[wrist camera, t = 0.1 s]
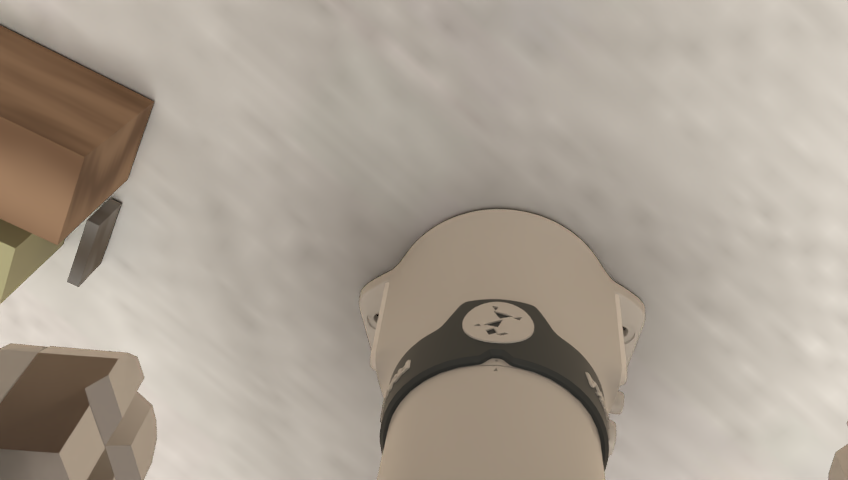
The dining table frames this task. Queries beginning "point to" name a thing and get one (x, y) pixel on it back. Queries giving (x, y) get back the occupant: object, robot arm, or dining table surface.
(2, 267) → the olive key
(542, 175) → the dining table surface
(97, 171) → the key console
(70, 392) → the robot arm
